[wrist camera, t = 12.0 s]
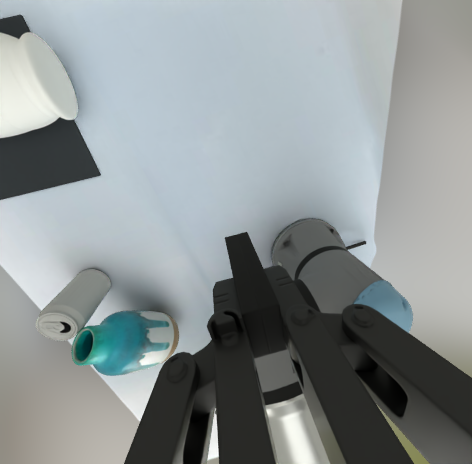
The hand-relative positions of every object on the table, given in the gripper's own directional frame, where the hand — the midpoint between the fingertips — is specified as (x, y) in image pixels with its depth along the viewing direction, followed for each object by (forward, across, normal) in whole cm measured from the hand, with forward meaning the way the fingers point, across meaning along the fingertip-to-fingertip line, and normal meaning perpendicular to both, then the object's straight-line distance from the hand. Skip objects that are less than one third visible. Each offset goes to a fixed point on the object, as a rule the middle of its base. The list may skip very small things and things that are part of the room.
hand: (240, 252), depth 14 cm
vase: (+24, +20, +32) cm, 44 cm away
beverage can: (+27, +29, +14) cm, 42 cm away
